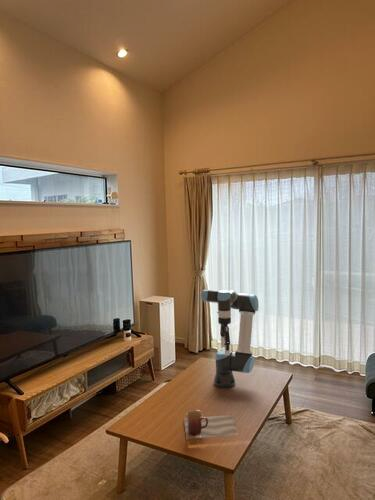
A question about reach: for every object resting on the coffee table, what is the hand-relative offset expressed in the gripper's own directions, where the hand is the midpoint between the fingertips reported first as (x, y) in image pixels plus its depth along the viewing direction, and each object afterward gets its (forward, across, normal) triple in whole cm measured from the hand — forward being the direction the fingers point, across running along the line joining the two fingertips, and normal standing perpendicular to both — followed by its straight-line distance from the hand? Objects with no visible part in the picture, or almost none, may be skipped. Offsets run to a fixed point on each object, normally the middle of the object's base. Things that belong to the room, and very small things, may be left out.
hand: (225, 351), depth 223 cm
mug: (+36, +25, -20) cm, 48 cm away
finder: (+36, +13, -20) cm, 43 cm away
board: (+37, +18, -13) cm, 43 cm away
